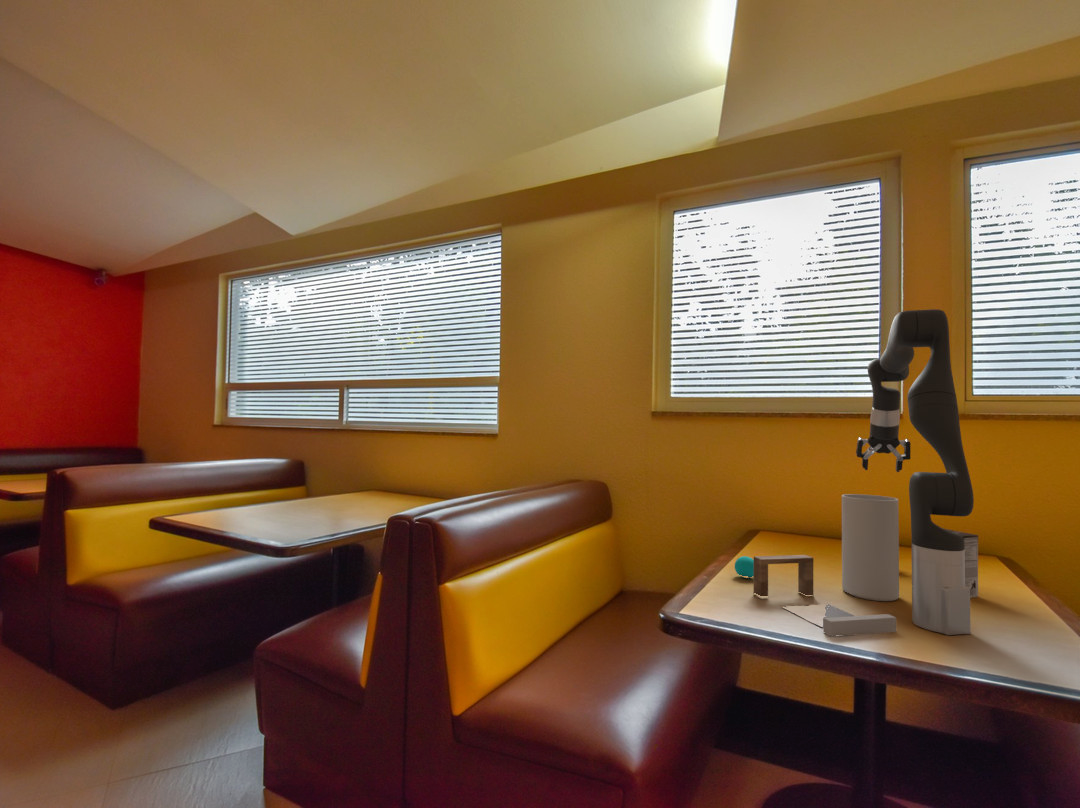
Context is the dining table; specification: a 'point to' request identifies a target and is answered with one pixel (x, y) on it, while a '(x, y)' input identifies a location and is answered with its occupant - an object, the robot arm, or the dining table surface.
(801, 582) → the bridge
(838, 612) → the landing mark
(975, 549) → the coffee box
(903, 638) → the dining table surface
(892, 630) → the stopper wall
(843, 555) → the cylinder vase
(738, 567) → the ball
